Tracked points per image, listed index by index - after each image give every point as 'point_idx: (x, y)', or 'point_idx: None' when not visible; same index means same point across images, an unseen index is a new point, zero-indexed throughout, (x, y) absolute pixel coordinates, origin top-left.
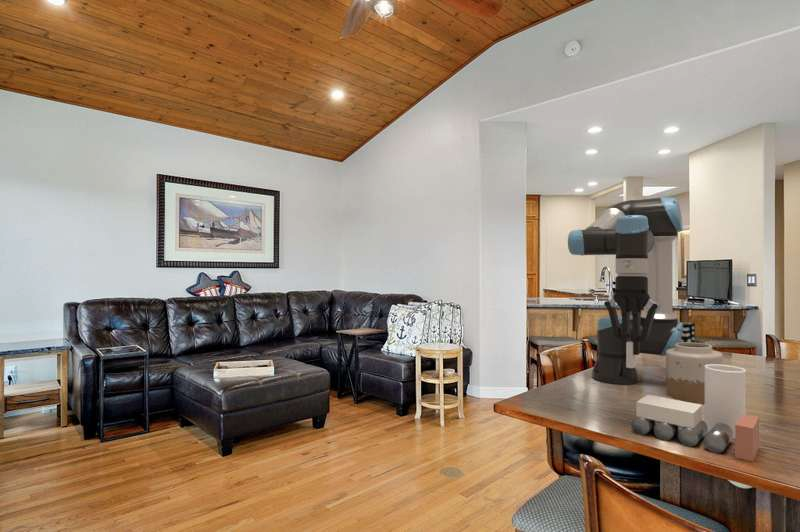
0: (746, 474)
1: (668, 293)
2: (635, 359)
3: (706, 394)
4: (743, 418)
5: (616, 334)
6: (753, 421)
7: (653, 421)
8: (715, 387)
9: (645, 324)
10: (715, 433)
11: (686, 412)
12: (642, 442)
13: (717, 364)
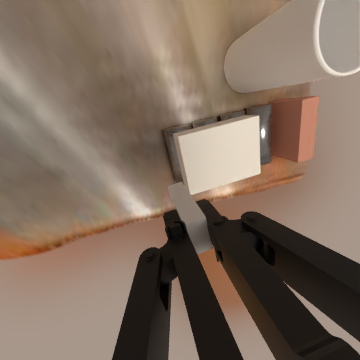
0: (280, 184)
1: None
2: (187, 190)
3: (266, 75)
4: (304, 123)
5: (161, 290)
6: (313, 126)
7: None
8: (297, 83)
9: (313, 296)
10: (267, 159)
11: (252, 175)
12: (197, 197)
13: None
